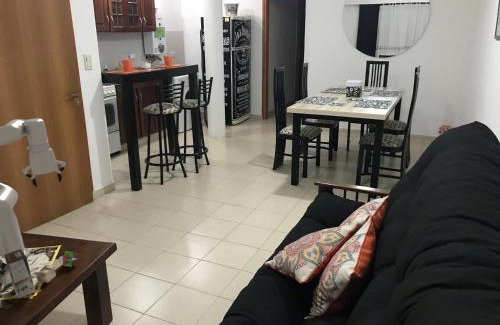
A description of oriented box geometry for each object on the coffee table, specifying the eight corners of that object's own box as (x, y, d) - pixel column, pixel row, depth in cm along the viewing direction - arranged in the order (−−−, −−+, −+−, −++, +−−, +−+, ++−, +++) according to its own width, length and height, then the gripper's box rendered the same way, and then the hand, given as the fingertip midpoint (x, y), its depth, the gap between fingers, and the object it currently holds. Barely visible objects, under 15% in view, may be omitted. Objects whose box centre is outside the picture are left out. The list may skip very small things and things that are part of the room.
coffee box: (36, 291, 160) (27, 257, 154) (18, 299, 156) (8, 264, 151) (29, 281, 166) (21, 248, 161) (12, 288, 163) (3, 254, 157)
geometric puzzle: (69, 253, 182) (60, 246, 175) (82, 255, 180) (73, 248, 174) (63, 268, 178) (52, 262, 172) (76, 270, 177) (66, 264, 170)
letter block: (37, 281, 166) (35, 271, 165) (45, 274, 171) (43, 264, 169) (49, 283, 165) (46, 272, 164) (57, 275, 170) (54, 265, 168)
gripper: (17, 153, 165) (27, 191, 170) (62, 145, 173) (70, 182, 179) (16, 149, 171) (26, 185, 177) (60, 141, 179) (67, 177, 185)
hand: (48, 183), depth 178 cm, fingers open, 9 cm apart
